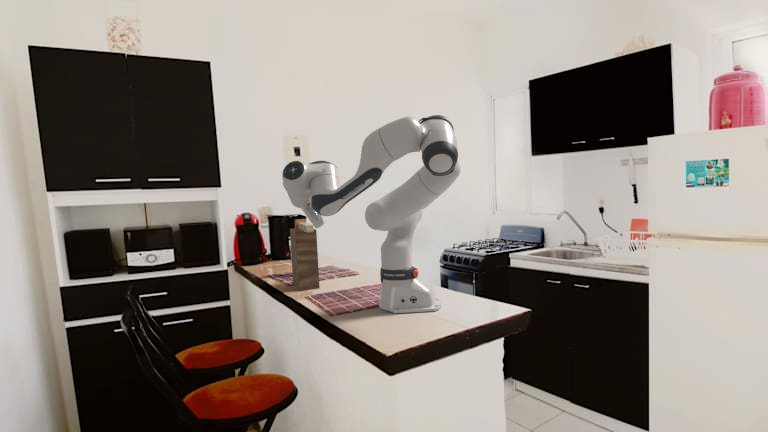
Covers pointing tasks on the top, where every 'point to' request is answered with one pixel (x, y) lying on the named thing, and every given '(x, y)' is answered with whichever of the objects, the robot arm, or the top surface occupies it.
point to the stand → (304, 259)
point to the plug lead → (303, 226)
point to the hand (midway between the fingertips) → (308, 213)
